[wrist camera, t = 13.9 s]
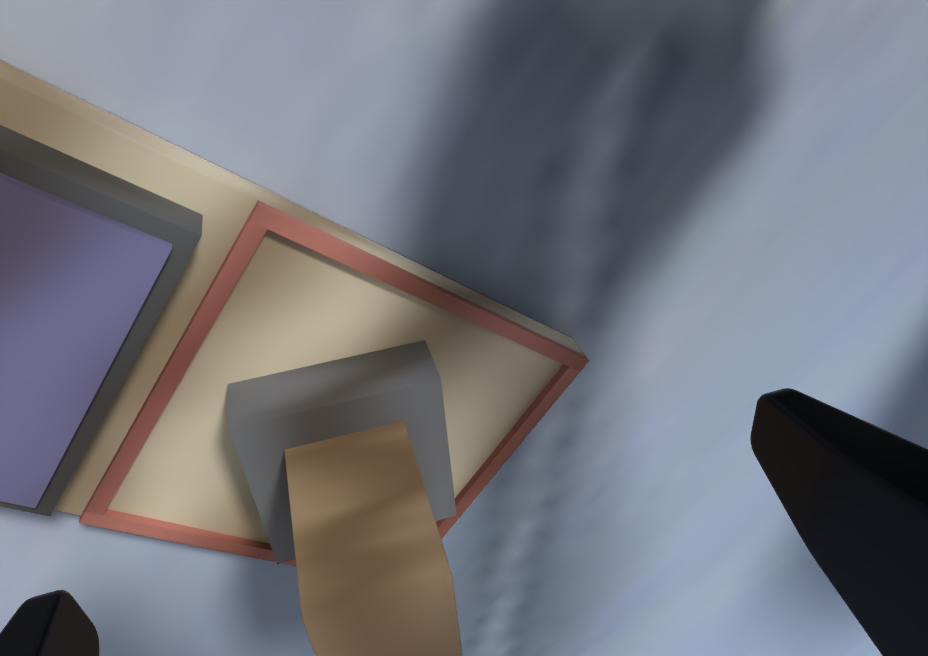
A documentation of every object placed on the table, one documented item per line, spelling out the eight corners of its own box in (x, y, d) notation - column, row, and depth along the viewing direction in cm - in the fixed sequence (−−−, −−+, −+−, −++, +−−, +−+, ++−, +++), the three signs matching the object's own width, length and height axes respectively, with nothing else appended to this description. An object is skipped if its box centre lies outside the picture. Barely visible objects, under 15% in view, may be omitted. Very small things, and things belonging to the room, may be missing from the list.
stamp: (425, 339, 22) (500, 525, 16) (442, 473, 26) (508, 666, 20) (227, 383, 21) (230, 600, 15) (273, 517, 24) (290, 735, 18)
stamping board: (573, 339, 25) (604, 382, 23) (395, 560, 29) (407, 613, 27) (-367, -119, 13) (-474, -111, 11) (-451, 374, 17) (-540, 445, 15)
